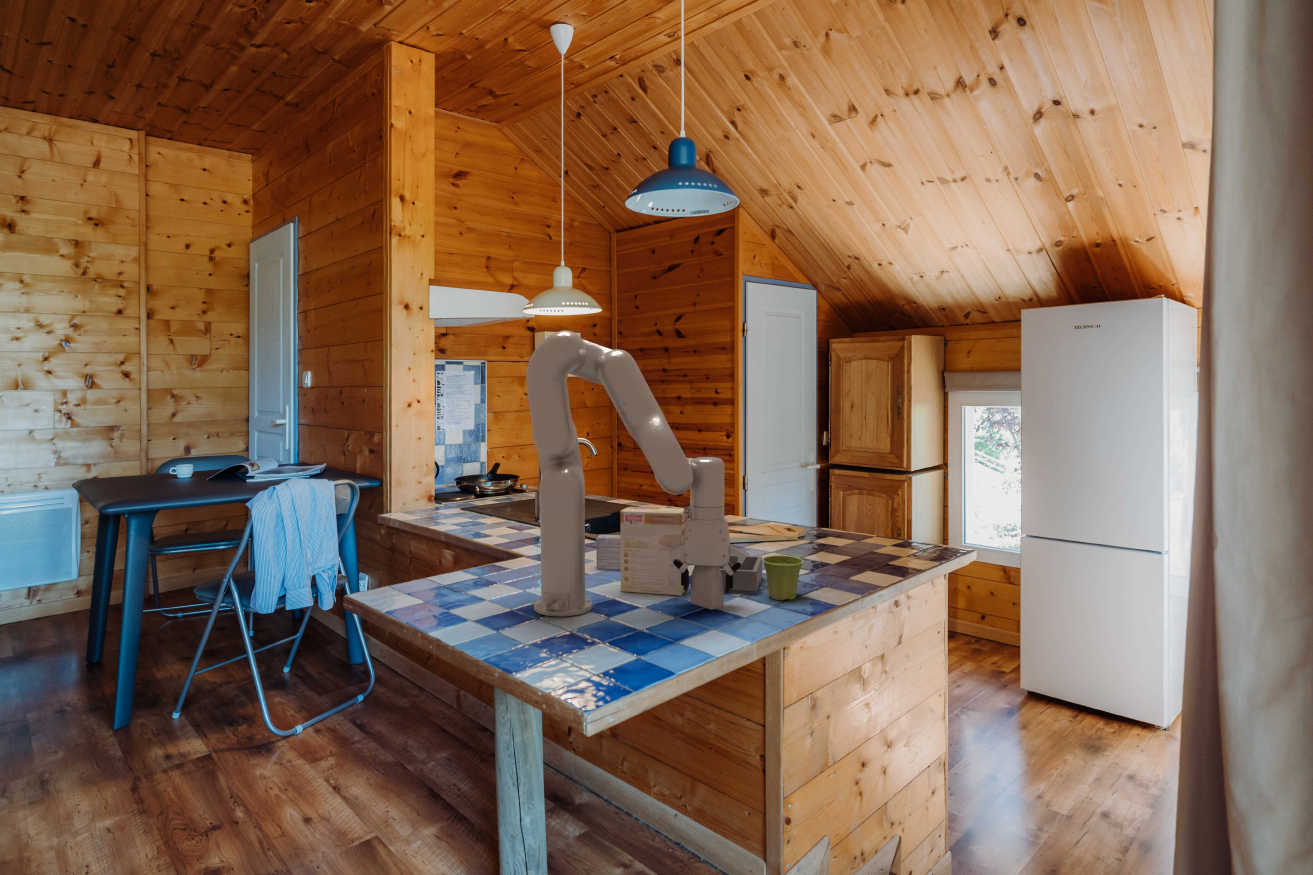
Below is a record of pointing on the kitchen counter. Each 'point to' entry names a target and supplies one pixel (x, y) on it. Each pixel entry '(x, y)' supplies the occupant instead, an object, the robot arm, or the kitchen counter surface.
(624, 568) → the coffeecake box
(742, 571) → the walled box
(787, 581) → the plant pot
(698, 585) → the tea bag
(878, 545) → the kitchen counter surface
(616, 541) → the medicine box
